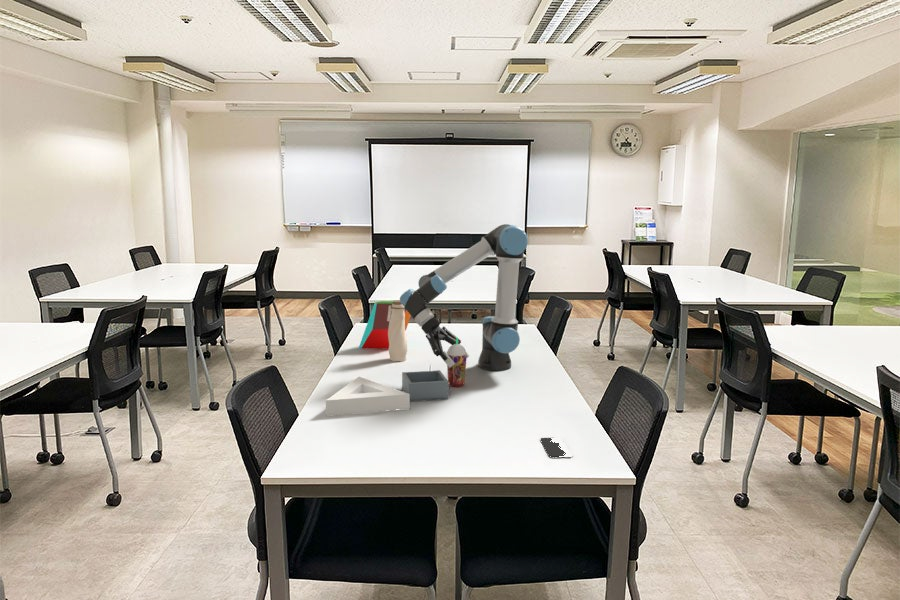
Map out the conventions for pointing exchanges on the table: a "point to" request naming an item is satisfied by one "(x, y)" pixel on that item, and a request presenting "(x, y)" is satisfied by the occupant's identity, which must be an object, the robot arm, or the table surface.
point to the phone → (552, 448)
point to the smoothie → (457, 364)
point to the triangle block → (366, 398)
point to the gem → (379, 326)
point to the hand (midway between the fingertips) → (459, 361)
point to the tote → (425, 385)
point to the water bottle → (397, 332)
